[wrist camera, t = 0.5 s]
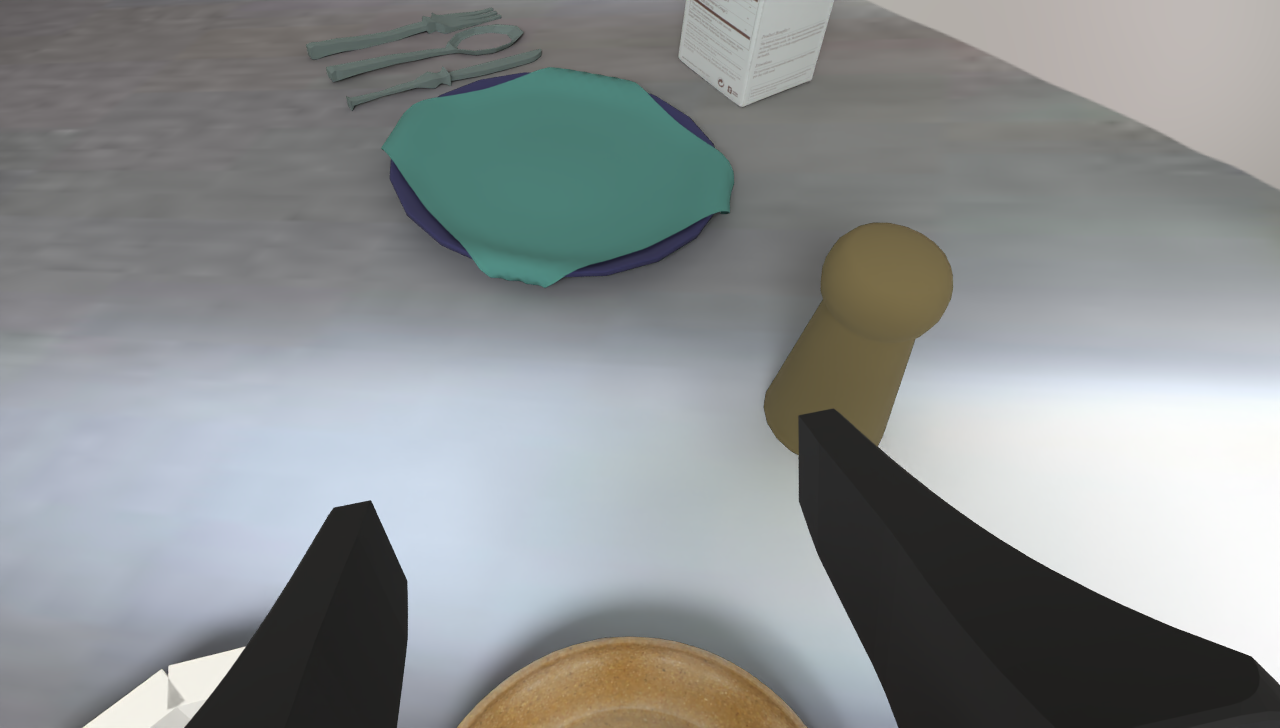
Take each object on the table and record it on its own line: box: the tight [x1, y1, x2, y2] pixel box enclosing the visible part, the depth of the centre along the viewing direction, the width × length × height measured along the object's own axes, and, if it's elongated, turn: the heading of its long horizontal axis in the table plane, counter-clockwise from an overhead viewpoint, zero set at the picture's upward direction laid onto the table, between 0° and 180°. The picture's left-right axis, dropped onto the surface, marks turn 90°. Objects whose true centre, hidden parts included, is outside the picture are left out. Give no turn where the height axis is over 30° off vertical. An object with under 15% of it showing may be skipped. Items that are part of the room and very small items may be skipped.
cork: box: [764, 223, 953, 455], centre depth 36 cm, size 6×6×11 cm
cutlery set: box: [306, 8, 734, 288], centre depth 52 cm, size 20×30×2 cm, turn 36°
